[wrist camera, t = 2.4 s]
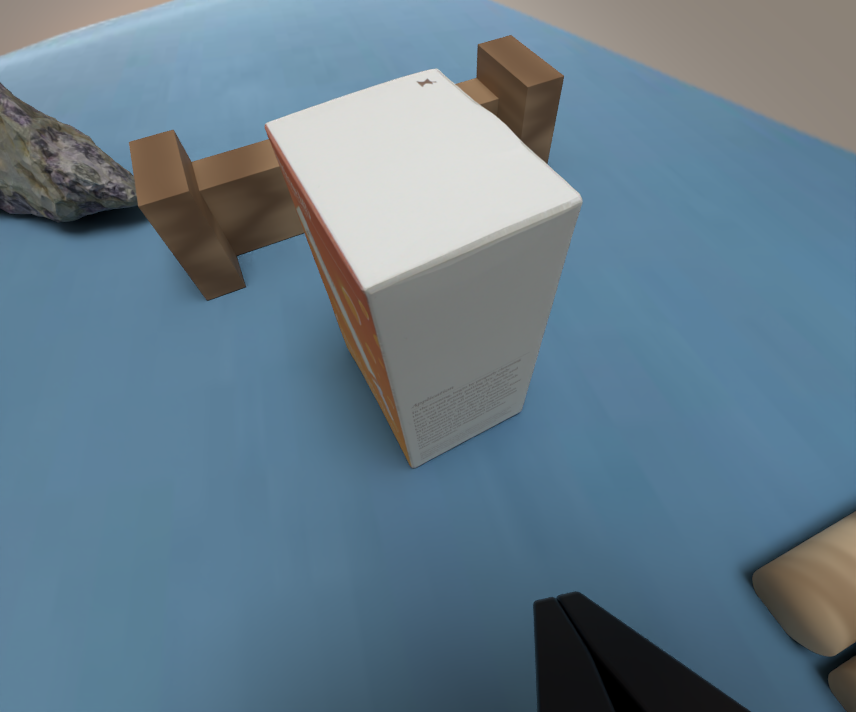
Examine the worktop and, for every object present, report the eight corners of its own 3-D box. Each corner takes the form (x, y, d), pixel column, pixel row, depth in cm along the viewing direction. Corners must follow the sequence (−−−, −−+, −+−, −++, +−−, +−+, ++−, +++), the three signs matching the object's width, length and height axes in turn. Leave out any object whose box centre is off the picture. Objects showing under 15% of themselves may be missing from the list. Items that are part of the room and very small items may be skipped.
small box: (345, 349, 25) (258, 117, 14) (445, 304, 26) (438, 60, 15) (411, 475, 21) (360, 291, 10) (525, 414, 22) (594, 191, 11)
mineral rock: (165, 222, 32) (58, 69, 23) (2, 298, 28) (-192, 153, 20) (112, 143, 37) (11, -3, 29) (-28, 198, 34) (-187, 53, 26)
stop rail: (207, 300, 27) (138, 206, 21) (192, 239, 30) (129, 141, 24) (543, 181, 32) (564, 75, 26) (501, 138, 35) (510, 35, 29)
